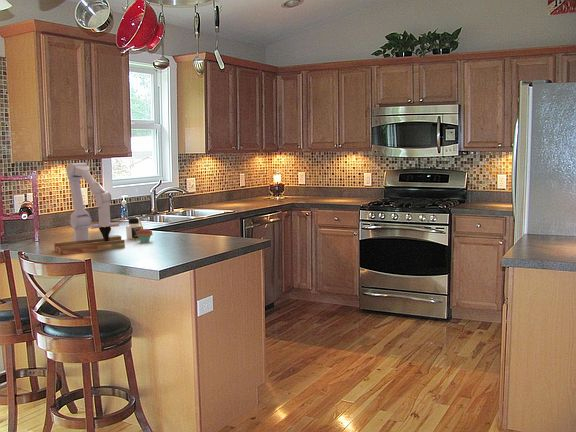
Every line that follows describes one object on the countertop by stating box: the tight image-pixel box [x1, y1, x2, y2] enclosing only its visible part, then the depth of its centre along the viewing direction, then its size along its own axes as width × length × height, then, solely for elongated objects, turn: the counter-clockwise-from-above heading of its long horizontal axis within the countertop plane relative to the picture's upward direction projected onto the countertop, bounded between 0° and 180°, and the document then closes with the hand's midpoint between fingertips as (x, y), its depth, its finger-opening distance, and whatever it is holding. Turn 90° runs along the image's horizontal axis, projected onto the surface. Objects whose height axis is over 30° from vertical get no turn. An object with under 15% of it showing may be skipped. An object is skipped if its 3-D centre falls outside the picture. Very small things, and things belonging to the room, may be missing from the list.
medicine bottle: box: [125, 216, 144, 241], centre depth 360 cm, size 7×7×12 cm
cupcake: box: [136, 221, 153, 243], centre depth 347 cm, size 9×8×12 cm
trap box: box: [53, 237, 126, 256], centre depth 327 cm, size 14×32×4 cm, turn 122°
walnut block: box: [108, 234, 122, 241], centre depth 333 cm, size 6×6×3 cm
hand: (105, 241), depth 331 cm, fingers closed
